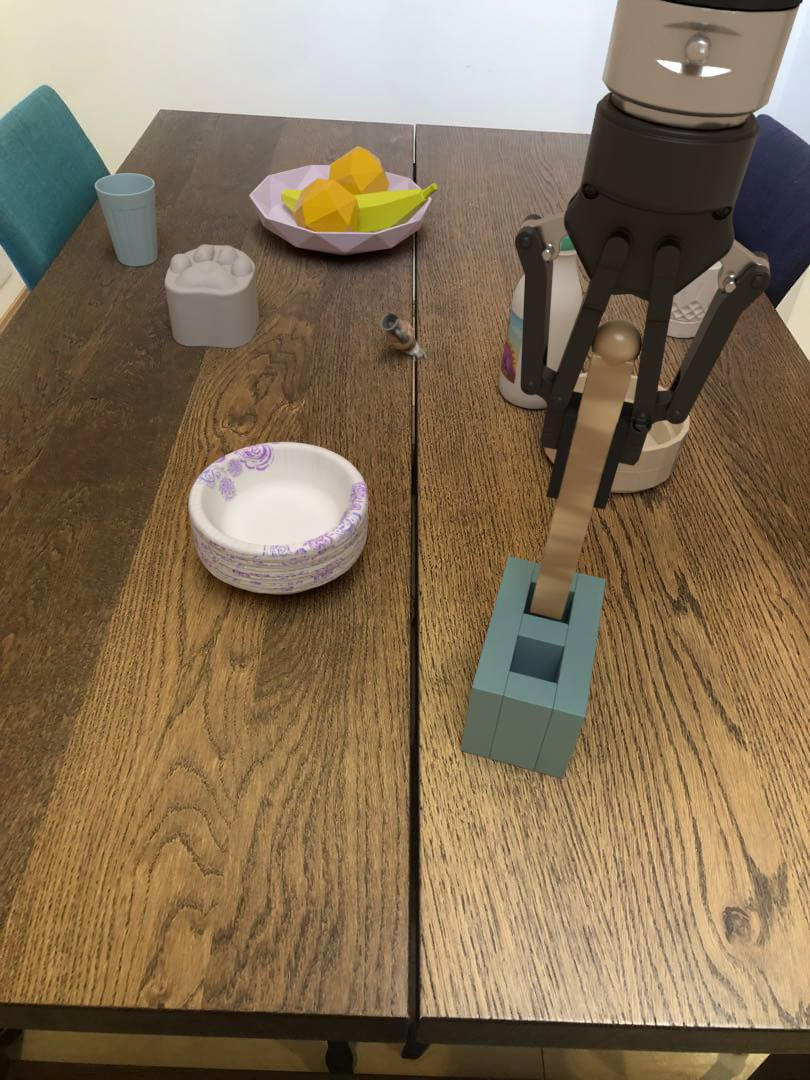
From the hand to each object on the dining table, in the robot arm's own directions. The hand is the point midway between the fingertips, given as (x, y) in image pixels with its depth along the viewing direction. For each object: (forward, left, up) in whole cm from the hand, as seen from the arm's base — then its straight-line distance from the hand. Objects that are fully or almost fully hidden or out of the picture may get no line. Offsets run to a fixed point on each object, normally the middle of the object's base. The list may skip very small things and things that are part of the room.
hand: (578, 489), depth 54 cm
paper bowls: (+24, -5, -19) cm, 31 cm away
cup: (+66, -54, -19) cm, 88 cm away
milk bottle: (+7, -40, -19) cm, 45 cm away
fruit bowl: (+41, -72, -19) cm, 85 cm away
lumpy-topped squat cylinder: (+48, -42, -19) cm, 67 cm away
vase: (+24, -42, -19) cm, 52 cm away
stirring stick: (0, 0, -12) cm, 12 cm away
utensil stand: (0, +3, -19) cm, 19 cm away
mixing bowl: (-3, -31, -19) cm, 37 cm away
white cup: (-9, -63, -19) cm, 67 cm away
